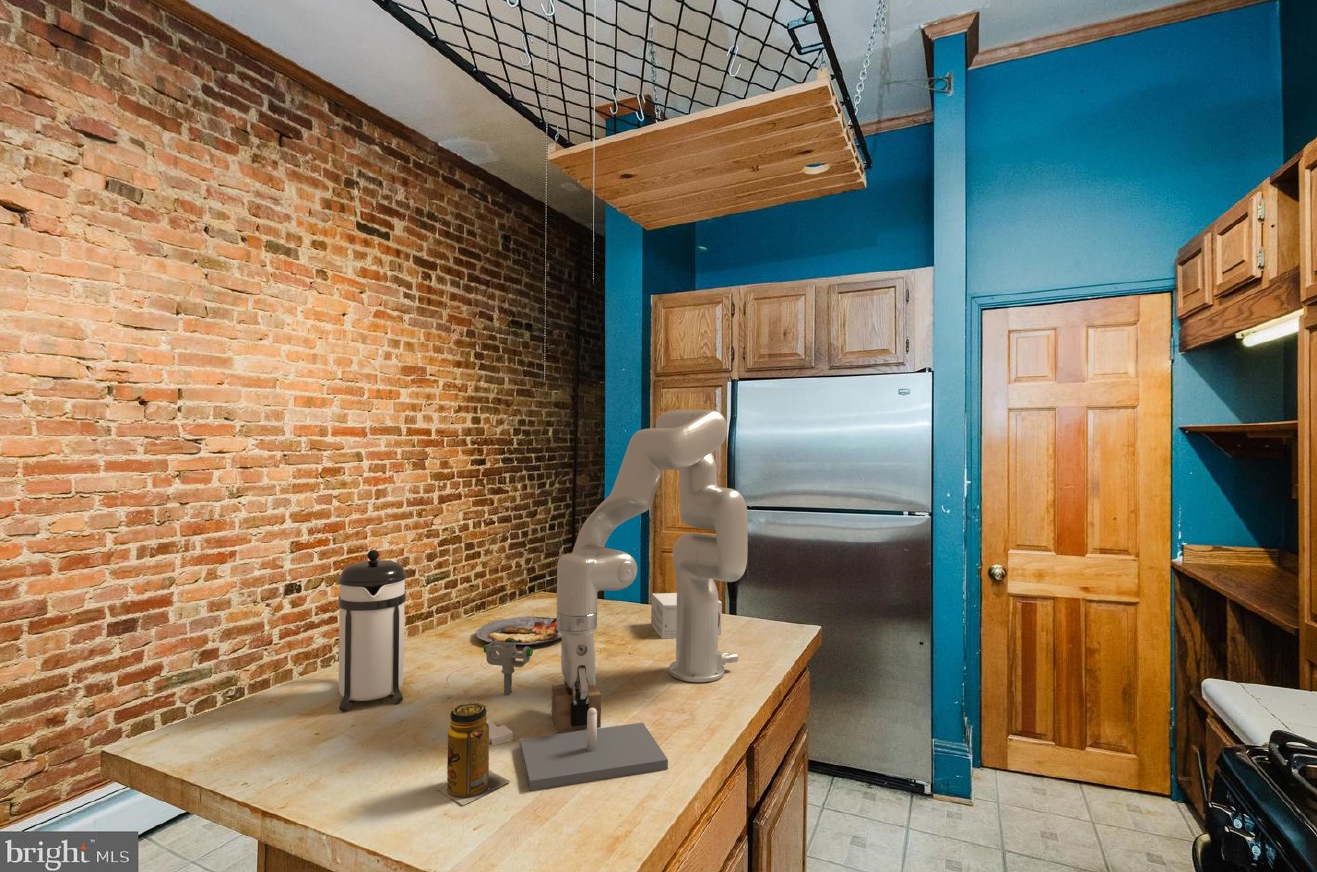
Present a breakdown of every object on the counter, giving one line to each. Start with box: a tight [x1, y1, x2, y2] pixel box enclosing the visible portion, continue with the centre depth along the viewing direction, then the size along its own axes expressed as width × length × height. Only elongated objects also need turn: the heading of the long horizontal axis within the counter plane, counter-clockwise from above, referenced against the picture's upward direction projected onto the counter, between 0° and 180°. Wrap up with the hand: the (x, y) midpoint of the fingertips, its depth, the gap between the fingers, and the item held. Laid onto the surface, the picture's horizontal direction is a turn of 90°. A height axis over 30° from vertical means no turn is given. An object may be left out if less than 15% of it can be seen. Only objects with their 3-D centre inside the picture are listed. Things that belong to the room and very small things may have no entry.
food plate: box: [475, 615, 562, 646], centre depth 171 cm, size 25×23×4 cm
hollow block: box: [550, 682, 602, 734], centre depth 120 cm, size 8×7×6 cm
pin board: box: [519, 708, 669, 792], centre depth 107 cm, size 22×14×8 cm, turn 108°
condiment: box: [435, 702, 511, 806], centre depth 98 cm, size 7×8×12 cm
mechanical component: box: [483, 642, 534, 696], centre depth 133 cm, size 3×10×10 cm, turn 78°
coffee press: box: [337, 549, 408, 713], centre depth 131 cm, size 17×16×30 cm
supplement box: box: [650, 592, 723, 640], centre depth 178 cm, size 17×13×9 cm
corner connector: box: [486, 719, 514, 746], centre depth 114 cm, size 8×8×2 cm
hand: (575, 715), depth 120 cm, fingers closed on hollow block, 6 cm apart
